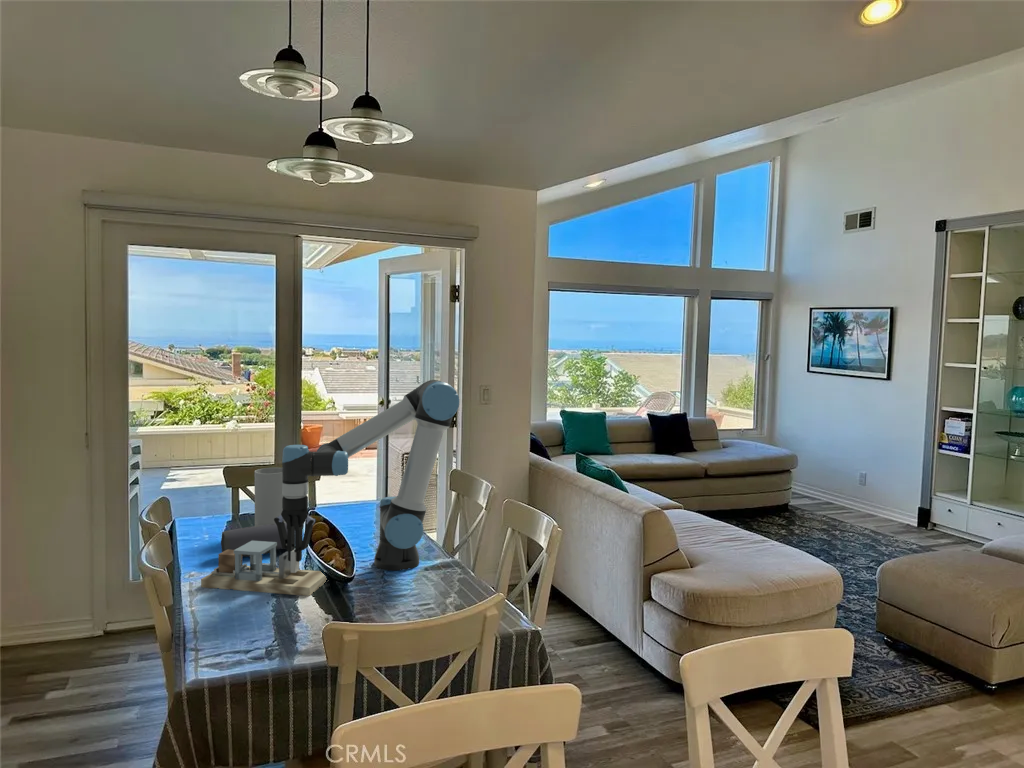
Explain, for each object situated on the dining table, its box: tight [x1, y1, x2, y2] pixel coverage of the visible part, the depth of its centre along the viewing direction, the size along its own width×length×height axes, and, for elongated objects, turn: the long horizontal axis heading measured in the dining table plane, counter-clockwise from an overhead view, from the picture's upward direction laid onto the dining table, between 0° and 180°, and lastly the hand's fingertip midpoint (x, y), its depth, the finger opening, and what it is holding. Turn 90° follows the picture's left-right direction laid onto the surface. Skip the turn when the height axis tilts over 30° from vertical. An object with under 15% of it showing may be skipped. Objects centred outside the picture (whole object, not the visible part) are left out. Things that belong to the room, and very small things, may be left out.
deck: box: [200, 565, 327, 597], centre depth 209 cm, size 35×14×3 cm, turn 81°
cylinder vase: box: [254, 467, 286, 526], centre depth 260 cm, size 12×12×25 cm
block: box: [217, 549, 243, 573], centre depth 211 cm, size 5×5×6 cm
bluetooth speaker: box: [220, 523, 287, 558], centre depth 237 cm, size 23×9×10 cm, turn 123°
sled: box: [210, 550, 291, 579], centre depth 209 cm, size 24×6×7 cm, turn 81°
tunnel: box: [234, 541, 277, 581], centre depth 209 cm, size 9×10×9 cm
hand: (294, 571), depth 207 cm, fingers closed
